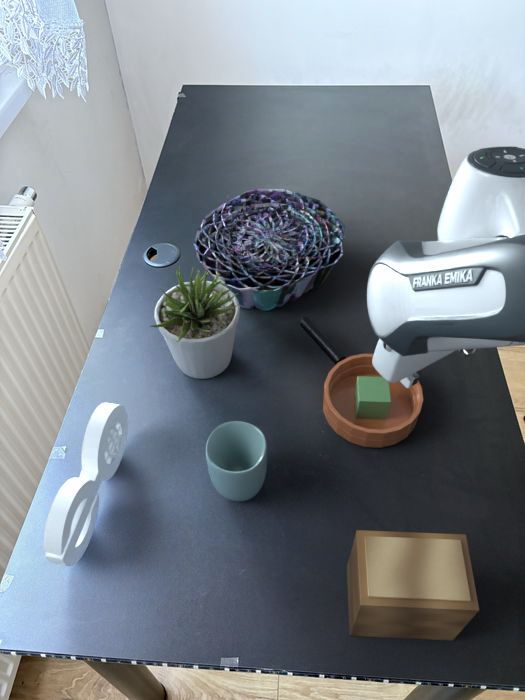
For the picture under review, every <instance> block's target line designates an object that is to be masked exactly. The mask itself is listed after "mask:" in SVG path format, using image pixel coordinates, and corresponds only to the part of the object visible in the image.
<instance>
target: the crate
mask: <svg viewBox="0 0 525 700" xmlns="http://www.w3.org/2000/svg"><path fill="white" fill-rule="evenodd" d="M346 585H347V607H348V609H347V610H348V611H347V612H348V631H349V632H348V634H349V636H350V637H367V638H369V637H370V638H388V639H389V638H392V639H410V640H411V639H412V640H429V641H430V640H432V641H433V640H434V641H454V640H455V639H456V638H457V636H458V635H460V633H461V632H462V631H463V630H464V628H465V627H466V626H467V625H468V624H469V623H470V622H471V621H472V619H473V618H474V617H475V616H476V615H477V614H478V613H479V611H480V606H479V601H478V595H477V589H476V583H475V578H474V572H473V567H472V561H471V555H470V550H469V544H468V539H467V534H461V533H437V532H435V533H433V532H414V531H413V532H411V531H410V532H409V531H388V530H387V531H386V530H385V531H384V530H361V529H360V530H359V529H358V530H356V531H355V535H354V539H353V542H352V546H351V550H350V554H349V558H348V561H347V565H346Z"/></svg>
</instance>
